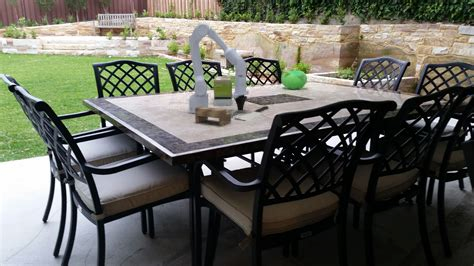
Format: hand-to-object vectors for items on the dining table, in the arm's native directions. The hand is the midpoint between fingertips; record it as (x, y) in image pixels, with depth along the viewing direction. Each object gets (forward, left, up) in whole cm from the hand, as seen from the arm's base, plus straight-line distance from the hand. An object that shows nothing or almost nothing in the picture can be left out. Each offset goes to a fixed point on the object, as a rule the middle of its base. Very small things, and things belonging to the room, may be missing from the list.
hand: (240, 110), depth 201 cm
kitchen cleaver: (+10, 0, -2) cm, 10 cm away
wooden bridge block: (0, -26, -1) cm, 26 cm away
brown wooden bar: (0, -11, -1) cm, 11 cm away
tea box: (-20, +17, -1) cm, 26 cm away
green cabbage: (-4, +88, -1) cm, 88 cm away
